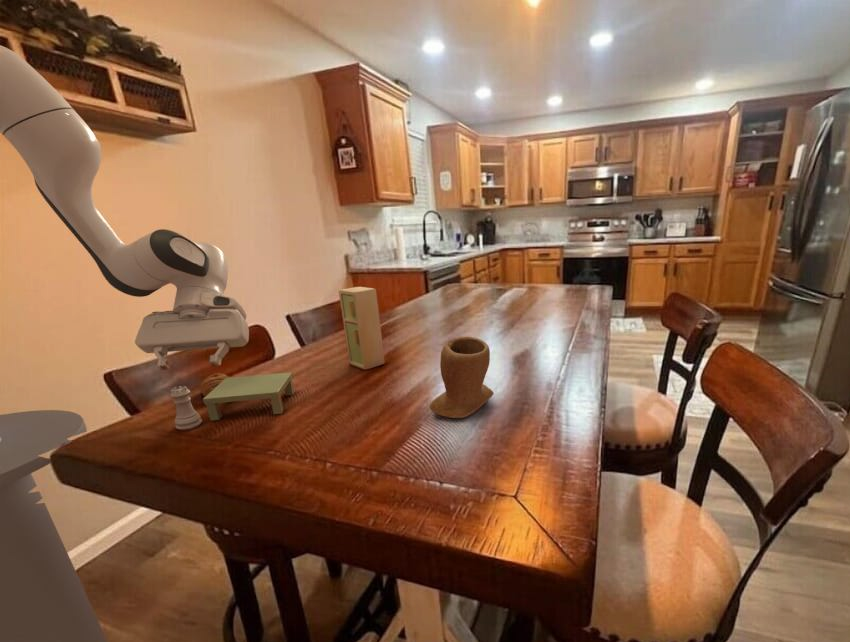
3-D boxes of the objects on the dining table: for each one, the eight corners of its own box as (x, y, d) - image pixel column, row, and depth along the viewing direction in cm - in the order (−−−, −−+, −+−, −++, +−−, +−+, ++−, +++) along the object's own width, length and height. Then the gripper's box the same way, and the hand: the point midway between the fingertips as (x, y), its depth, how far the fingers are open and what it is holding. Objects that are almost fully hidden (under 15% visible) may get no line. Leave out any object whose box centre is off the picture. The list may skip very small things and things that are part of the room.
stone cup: (471, 428, 76) (469, 353, 71) (422, 415, 82) (416, 344, 77) (508, 399, 89) (508, 333, 84) (462, 389, 94) (460, 327, 90)
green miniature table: (208, 421, 82) (202, 399, 80) (231, 397, 93) (226, 377, 91) (282, 414, 84) (278, 392, 83) (295, 391, 96) (292, 372, 94)
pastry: (235, 396, 94) (232, 381, 92) (201, 404, 90) (196, 388, 89) (233, 384, 101) (230, 370, 100) (201, 390, 98) (197, 376, 96)
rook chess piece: (206, 419, 83) (196, 383, 80) (197, 429, 79) (186, 391, 76) (182, 421, 82) (171, 385, 79) (171, 432, 78) (159, 394, 75)
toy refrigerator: (346, 365, 113) (335, 289, 106) (368, 358, 118) (360, 286, 111) (362, 371, 108) (352, 292, 101) (385, 364, 113) (377, 288, 106)
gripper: (135, 304, 83) (120, 364, 77) (243, 298, 87) (236, 355, 81) (153, 320, 89) (141, 377, 83) (254, 314, 93) (249, 368, 87)
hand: (189, 366), depth 82 cm, fingers open, 8 cm apart
